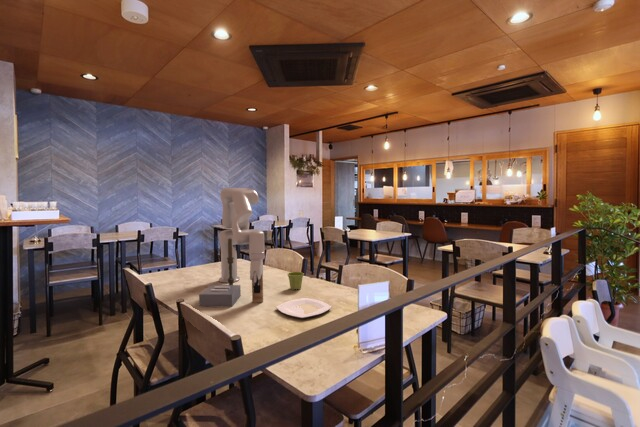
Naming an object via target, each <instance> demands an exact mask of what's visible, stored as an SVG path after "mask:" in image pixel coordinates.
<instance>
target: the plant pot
mask: <svg viewBox="0 0 640 427" xmlns="http://www.w3.org/2000/svg"><path fill="white" fill-rule="evenodd" d="M304 275H305V273H303V272H301V271H292V272H291V271H290V272H288V273H287V276H288V280H289V288H290V290H292V289H296V290H297V289H299V290H301V289H302V286H303V285H302V283H303V278H304ZM300 288H301V289H300Z"/></svg>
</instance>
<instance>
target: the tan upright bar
mask: <svg viewBox="0 0 640 427" xmlns="http://www.w3.org/2000/svg"><path fill="white" fill-rule="evenodd" d="M253 277H254V276H253ZM257 279H258V278H257ZM251 296H252V297H251V299H252V300H251V301H252V302H251V303H252V304H253V303H254V304H258V303H257V302H263V303H264V273H263V274H262V275H261V279H260V293H254V278H253V279H252V280H251Z"/></svg>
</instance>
